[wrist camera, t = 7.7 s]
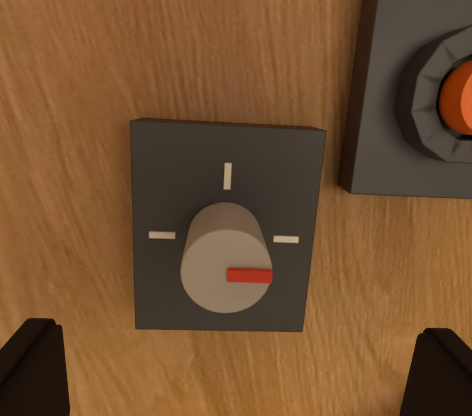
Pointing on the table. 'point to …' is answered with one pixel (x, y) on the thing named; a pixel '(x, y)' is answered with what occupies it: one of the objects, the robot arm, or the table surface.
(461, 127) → the button
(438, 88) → the grey piece
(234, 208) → the temp dial
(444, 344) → the robot arm
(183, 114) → the table surface
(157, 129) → the dial console
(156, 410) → the table surface
